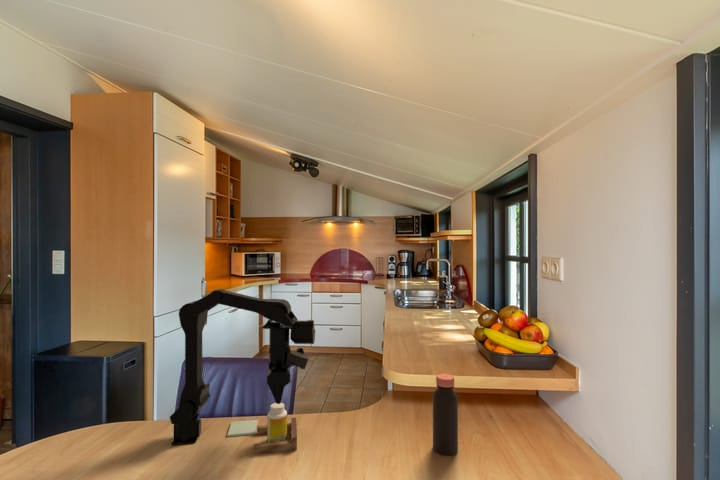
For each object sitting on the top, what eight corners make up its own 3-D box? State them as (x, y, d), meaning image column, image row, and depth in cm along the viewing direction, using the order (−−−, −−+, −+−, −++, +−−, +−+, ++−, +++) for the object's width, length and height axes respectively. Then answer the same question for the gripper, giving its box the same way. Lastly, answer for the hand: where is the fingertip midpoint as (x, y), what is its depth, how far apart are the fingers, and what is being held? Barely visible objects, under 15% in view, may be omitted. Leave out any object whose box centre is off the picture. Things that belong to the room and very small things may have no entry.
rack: (253, 454, 100) (253, 441, 100) (257, 432, 111) (257, 420, 111) (296, 450, 102) (296, 437, 102) (296, 428, 113) (296, 417, 114)
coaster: (227, 436, 109) (227, 434, 109) (231, 423, 117) (231, 422, 117) (255, 434, 110) (255, 432, 110) (257, 421, 118) (257, 419, 118)
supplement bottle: (290, 441, 106) (290, 405, 106) (272, 448, 103) (272, 411, 103) (281, 434, 110) (281, 399, 111) (263, 440, 107) (264, 404, 107)
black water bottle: (428, 445, 104) (428, 374, 105) (447, 440, 107) (447, 371, 107) (442, 458, 98) (442, 382, 98) (463, 452, 101) (462, 378, 101)
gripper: (309, 351, 101) (308, 408, 100) (305, 334, 119) (304, 383, 119) (267, 353, 98) (266, 412, 98) (269, 336, 117) (268, 385, 116)
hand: (278, 397), depth 108 cm, fingers open, 9 cm apart
